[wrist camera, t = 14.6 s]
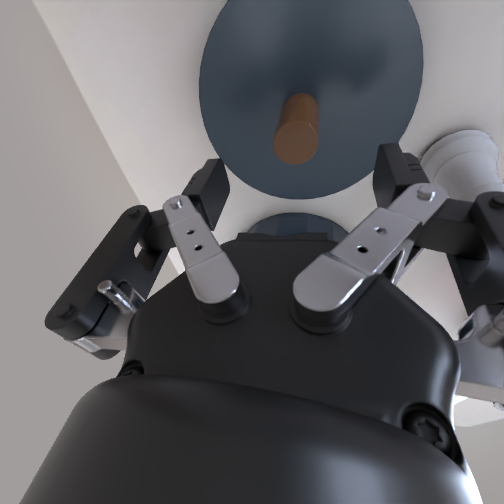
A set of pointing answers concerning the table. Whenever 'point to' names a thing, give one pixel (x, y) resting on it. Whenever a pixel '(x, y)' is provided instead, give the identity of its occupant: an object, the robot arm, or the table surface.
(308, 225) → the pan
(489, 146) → the rook chess piece
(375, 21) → the pan lid
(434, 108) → the table surface
